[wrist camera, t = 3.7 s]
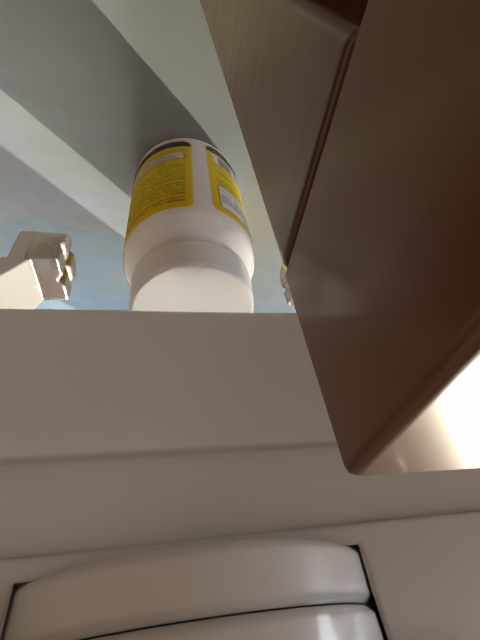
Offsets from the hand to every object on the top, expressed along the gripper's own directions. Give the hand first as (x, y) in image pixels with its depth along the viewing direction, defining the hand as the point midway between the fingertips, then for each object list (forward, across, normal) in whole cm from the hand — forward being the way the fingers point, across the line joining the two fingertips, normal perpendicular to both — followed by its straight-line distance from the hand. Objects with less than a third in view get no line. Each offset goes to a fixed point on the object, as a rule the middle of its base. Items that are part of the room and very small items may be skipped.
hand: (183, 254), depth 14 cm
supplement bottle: (+5, 0, 0) cm, 5 cm away
